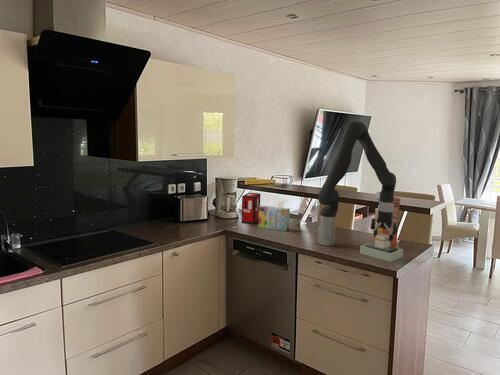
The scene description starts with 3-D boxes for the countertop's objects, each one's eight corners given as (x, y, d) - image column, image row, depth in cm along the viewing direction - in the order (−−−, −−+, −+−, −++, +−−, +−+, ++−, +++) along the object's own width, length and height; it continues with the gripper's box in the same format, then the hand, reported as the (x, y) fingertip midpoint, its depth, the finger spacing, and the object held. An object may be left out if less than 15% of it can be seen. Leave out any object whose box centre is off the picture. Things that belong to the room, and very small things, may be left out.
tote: (359, 254, 208) (360, 245, 207) (372, 250, 217) (372, 241, 216) (390, 263, 195) (391, 254, 194) (402, 258, 204) (403, 249, 203)
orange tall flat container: (373, 238, 242) (376, 192, 238) (386, 239, 241) (389, 192, 237) (381, 249, 219) (385, 198, 215) (395, 250, 218) (400, 198, 214)
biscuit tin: (367, 254, 207) (367, 245, 206) (375, 250, 213) (376, 242, 212) (388, 259, 198) (389, 250, 197) (396, 256, 204) (397, 247, 203)
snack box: (289, 229, 258) (290, 208, 256) (286, 231, 253) (287, 209, 251) (261, 225, 268) (261, 204, 266) (257, 227, 263) (258, 206, 261)
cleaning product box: (248, 218, 289) (249, 192, 286) (259, 219, 286) (260, 193, 284) (241, 223, 273) (242, 195, 271) (253, 224, 271) (254, 196, 268)
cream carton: (374, 246, 204) (375, 235, 203) (381, 243, 209) (382, 233, 208) (383, 248, 201) (384, 237, 200) (390, 246, 205) (390, 235, 205)
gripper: (369, 208, 205) (367, 237, 207) (394, 213, 194) (392, 243, 197) (376, 206, 210) (374, 235, 212) (401, 211, 199) (398, 241, 202)
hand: (383, 239), depth 204 cm, fingers open, 8 cm apart
